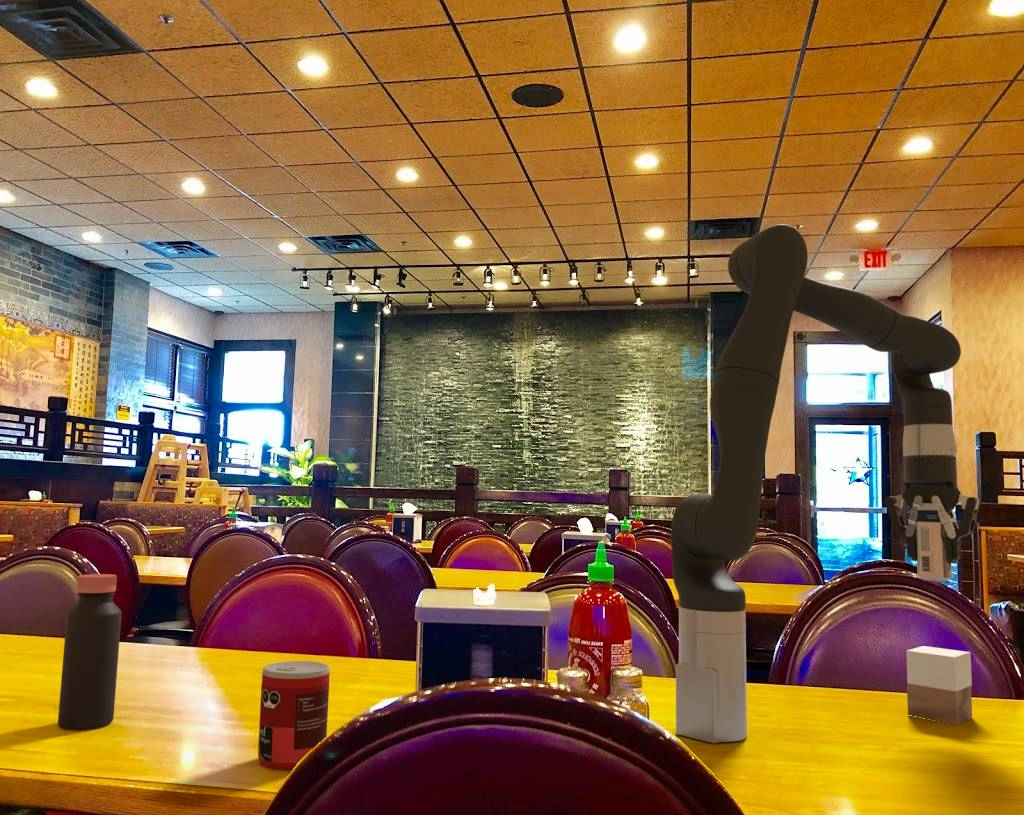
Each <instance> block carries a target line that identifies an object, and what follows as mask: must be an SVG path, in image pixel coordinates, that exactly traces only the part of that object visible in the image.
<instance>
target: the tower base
mask: <svg viewBox="0 0 1024 815" xmlns="http://www.w3.org/2000/svg"><path fill="white" fill-rule="evenodd" d="M906 692H907V693H906V695H907V698H906V699H907V716H908V715H912V716H917V717H921V718H925V719H930V720H935V721H939V722H938V723H940V722H944V723H943V724H946V723H949V724H948V725H951V724H953V725H952V726H956V725H958V726H960V725H961V723H962V724H963V723H965V722H967V721H969V720H971V719H972V718H973V705H972V704H973V701H972V700H973V699H972V685H971V686H969V687H966V688H964V689H961V690H959V691H956V692H955V691H949V690H943V689H937V688H931V687H925V686H919V685H913V684H907V683H906ZM971 717H972V718H971ZM970 718H971V719H970ZM925 719H924V720H925ZM968 719H969V720H968ZM930 720H929V721H930ZM966 720H967V721H966ZM935 721H934V722H935ZM964 721H965V722H964ZM959 724H960V725H959Z"/></svg>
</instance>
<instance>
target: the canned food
mask: <svg viewBox="0 0 1024 815" xmlns="http://www.w3.org/2000/svg"><path fill="white" fill-rule="evenodd" d="M261 675H262V676H261V688H260V689H261V690H260V706H259V707H260V708H259V709H260V710H259V726H258V730H259V731H258V745H257V746H258V748H257V749H258V751H257V758H258V762H259V764H260V766H262V767H264V768H267V769H269V768H270V770H277V771H293V770H292V769H293V768H294V767H295V766H296V764H297V763H298V762H299V761H300V760H301V759H302V758H303V757H304V756H305V755H306V754H307V753H308V752H309V751H310V750H311V749H313V748H314V747H315V746H316V745H317V744H318V743H319V742H321V741H322V740H323V739H324V738H325V737H326V738H327V736H328V735H327V733H328V717H329V716H328V715H329V713H328V712H329V696H330V665H328V664H327V663H323V662H319V661H318V662H317V661H310V660H309V661H308V660H307V661H306V660H289V661H281V662H280V661H279V662H273V663H270V664H267V665H265V666H263V668H262V673H261Z"/></svg>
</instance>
